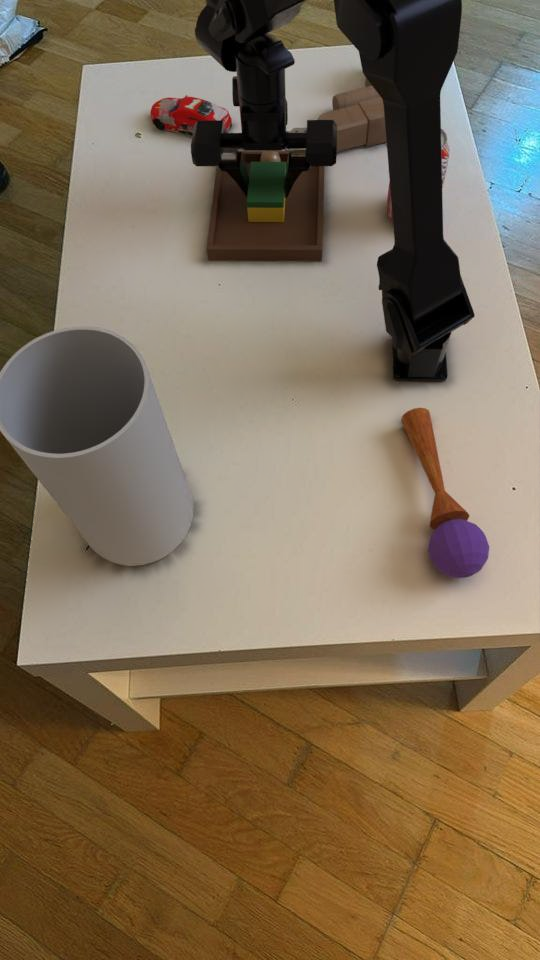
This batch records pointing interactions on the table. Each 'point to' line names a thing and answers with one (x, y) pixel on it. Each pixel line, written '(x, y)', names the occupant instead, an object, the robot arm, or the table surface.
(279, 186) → the sponge
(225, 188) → the tray
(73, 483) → the cylinder vase
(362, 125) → the wooden block set
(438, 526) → the kendama
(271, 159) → the tan wooden ball
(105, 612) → the table surface
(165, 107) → the race car
